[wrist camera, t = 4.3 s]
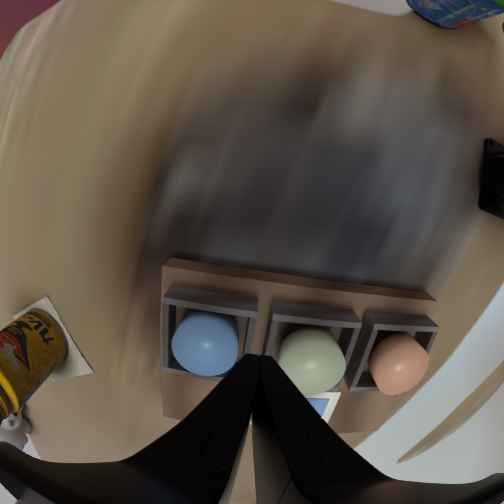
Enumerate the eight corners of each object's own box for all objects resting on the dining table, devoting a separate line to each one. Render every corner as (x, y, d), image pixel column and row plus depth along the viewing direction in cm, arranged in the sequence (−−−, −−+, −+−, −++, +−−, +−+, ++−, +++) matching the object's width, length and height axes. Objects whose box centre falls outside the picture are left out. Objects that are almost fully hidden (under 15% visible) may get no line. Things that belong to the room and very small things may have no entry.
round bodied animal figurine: (48, 403, 28) (24, 430, 20) (29, 446, 26) (9, 472, 18) (12, 371, 27) (-17, 390, 19) (-3, 417, 25) (-27, 438, 17)
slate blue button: (243, 311, 18) (241, 327, 16) (235, 362, 19) (233, 380, 17) (180, 302, 18) (172, 316, 16) (178, 352, 19) (171, 369, 17)
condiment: (47, 294, 21) (-42, 359, 9) (94, 371, 23) (33, 457, 11) (14, 315, 22) (-58, 369, 10) (54, 380, 24) (-1, 448, 12)
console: (425, 291, 20) (451, 312, 16) (371, 417, 24) (383, 444, 20) (170, 257, 20) (151, 275, 16) (168, 401, 23) (157, 431, 19)
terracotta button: (424, 333, 17) (437, 347, 15) (404, 377, 18) (414, 393, 16) (378, 331, 17) (390, 347, 15) (360, 378, 18) (368, 396, 16)
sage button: (345, 329, 17) (354, 345, 15) (328, 378, 18) (334, 396, 16) (283, 323, 17) (286, 340, 15) (272, 374, 18) (273, 393, 16)
